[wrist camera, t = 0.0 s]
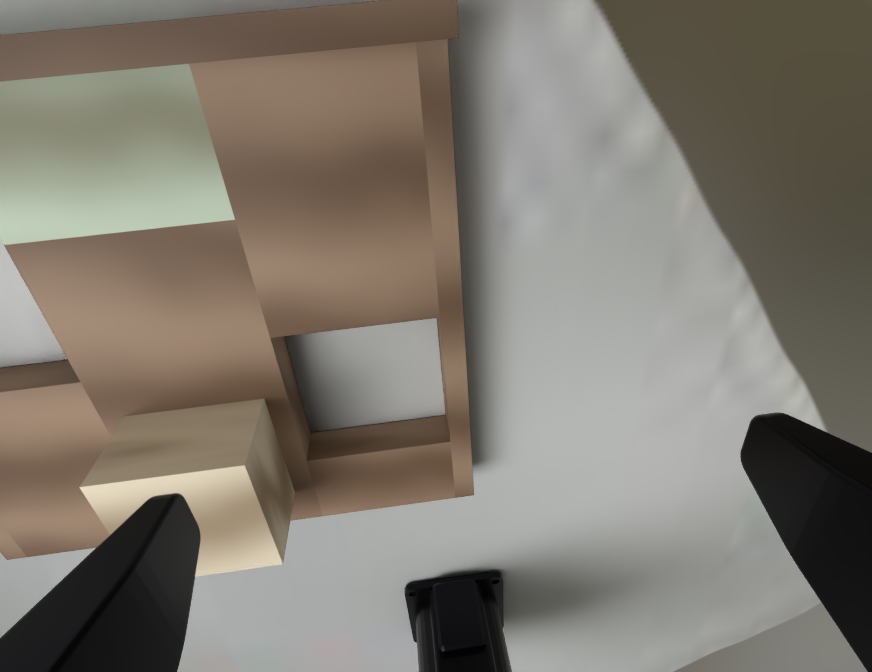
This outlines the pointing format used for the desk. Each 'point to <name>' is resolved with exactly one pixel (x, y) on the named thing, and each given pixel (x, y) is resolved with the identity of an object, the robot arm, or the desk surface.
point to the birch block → (202, 479)
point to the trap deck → (227, 241)
